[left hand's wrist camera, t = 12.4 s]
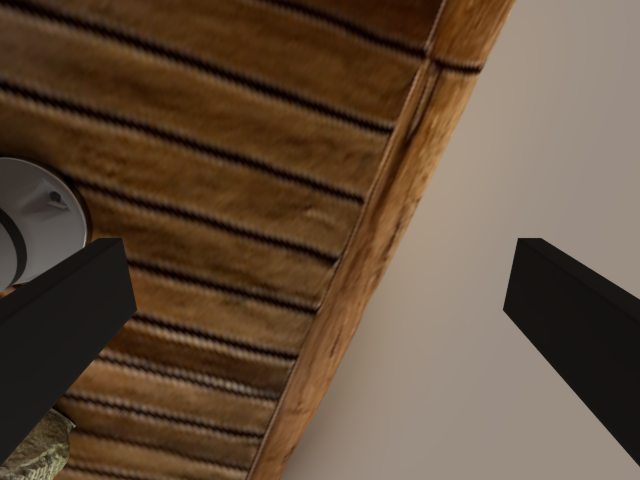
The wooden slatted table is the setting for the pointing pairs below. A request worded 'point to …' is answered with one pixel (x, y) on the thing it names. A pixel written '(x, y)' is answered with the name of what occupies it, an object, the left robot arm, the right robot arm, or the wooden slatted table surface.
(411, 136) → the wooden slatted table surface
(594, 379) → the left robot arm
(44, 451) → the fossil
